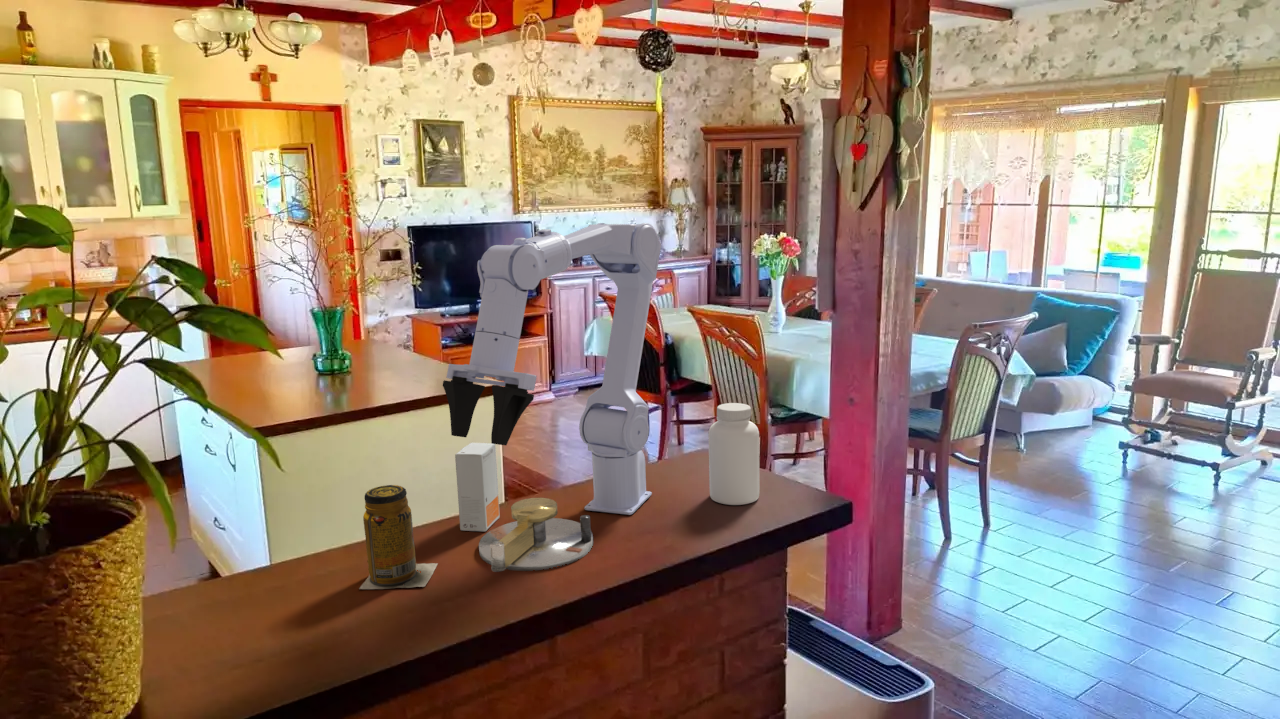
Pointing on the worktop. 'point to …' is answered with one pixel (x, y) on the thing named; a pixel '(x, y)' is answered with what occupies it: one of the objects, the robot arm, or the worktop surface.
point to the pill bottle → (734, 456)
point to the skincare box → (477, 486)
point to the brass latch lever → (521, 531)
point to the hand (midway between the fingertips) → (478, 440)
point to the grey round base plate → (545, 543)
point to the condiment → (391, 541)
